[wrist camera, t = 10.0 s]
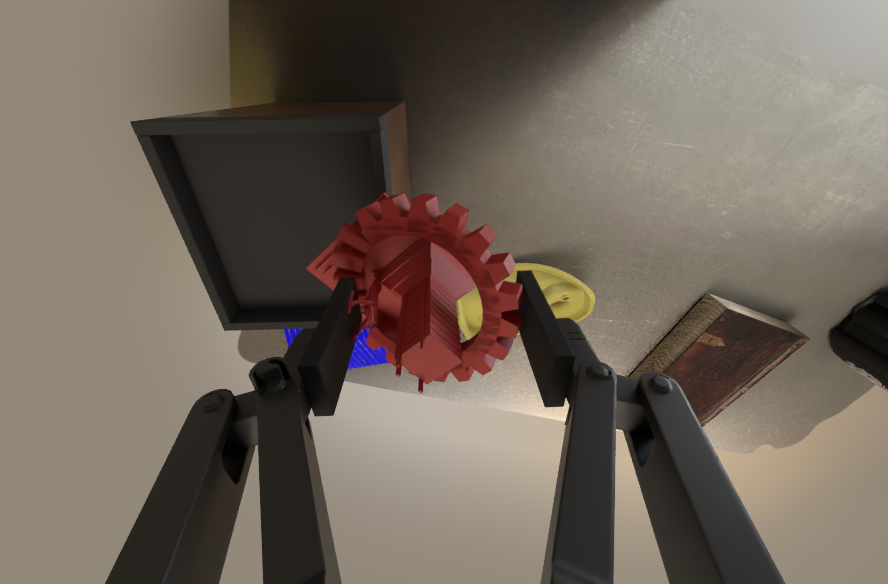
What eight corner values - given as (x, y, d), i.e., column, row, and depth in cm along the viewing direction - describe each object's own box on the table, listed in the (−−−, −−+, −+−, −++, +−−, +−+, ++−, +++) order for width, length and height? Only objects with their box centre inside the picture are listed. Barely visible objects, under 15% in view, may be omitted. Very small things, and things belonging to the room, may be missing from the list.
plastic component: (469, 343, 58) (455, 318, 49) (464, 306, 62) (451, 277, 53) (590, 322, 54) (597, 291, 46) (576, 283, 58) (581, 248, 50)
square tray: (158, 117, 23) (129, 121, 21) (384, 114, 24) (379, 117, 21) (238, 313, 32) (224, 330, 30) (403, 309, 32) (400, 326, 30)
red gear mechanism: (292, 172, 17) (197, 238, 10) (521, 187, 18) (579, 256, 11) (318, 335, 23) (269, 448, 16) (492, 341, 24) (518, 451, 17)
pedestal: (274, 102, 40) (158, 117, 23) (405, 100, 41) (384, 114, 24) (306, 233, 49) (238, 313, 32) (413, 231, 49) (403, 309, 32)
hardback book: (674, 421, 74) (688, 442, 70) (603, 402, 70) (614, 422, 66) (786, 322, 60) (813, 340, 56) (706, 291, 56) (728, 308, 52)
